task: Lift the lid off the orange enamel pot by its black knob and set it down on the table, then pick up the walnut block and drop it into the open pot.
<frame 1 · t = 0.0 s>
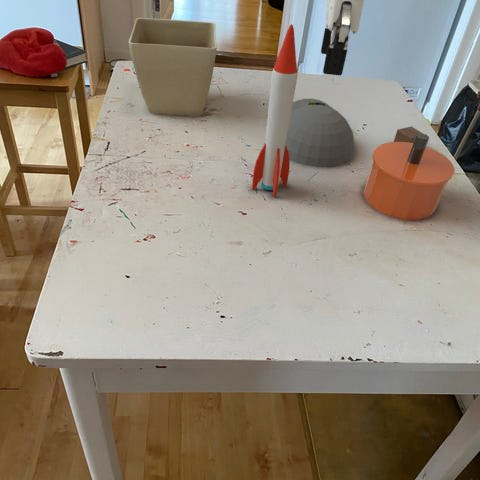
hand: (330, 63, 83), 23 cm above the table, tool pointing down, fingers open, 9 cm apart
lid: (412, 163, 91), point 8 cm above the table, touching pot
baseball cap: (311, 142, 112), on the table
flower pot: (176, 106, 120), on the table
toy rocket: (268, 191, 97), on the table
pot: (398, 201, 97), on the table
block: (404, 150, 113), on the table
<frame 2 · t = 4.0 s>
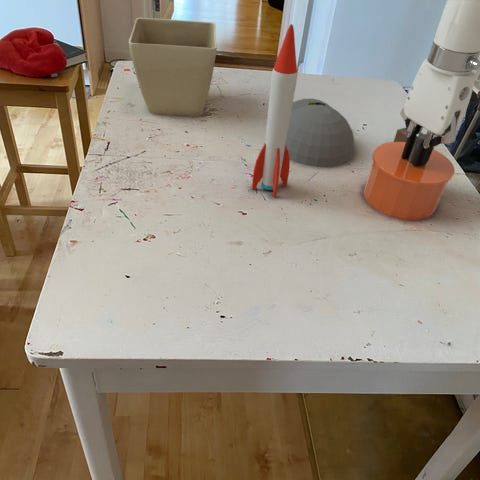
hand: (413, 160, 91), 9 cm above the table, tool pointing down, fingers closed on lid, 2 cm apart
lid: (412, 163, 91), point 9 cm above the table, touching gripper, pot
everything else where it was.
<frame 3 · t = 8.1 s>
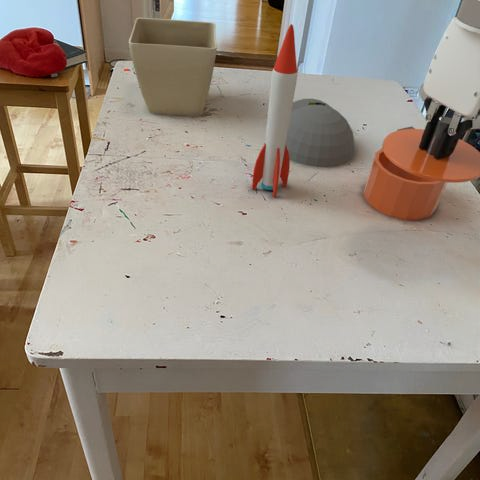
hand: (434, 151, 72), 19 cm above the table, tool pointing down, fingers closed on lid, 2 cm apart
lid: (432, 155, 73), point 19 cm above the table, touching gripper
everything else where it was.
when the fingers open (1 cm above the table, at t = 12.1 s): lid stays where it is, point 1 cm above the table.
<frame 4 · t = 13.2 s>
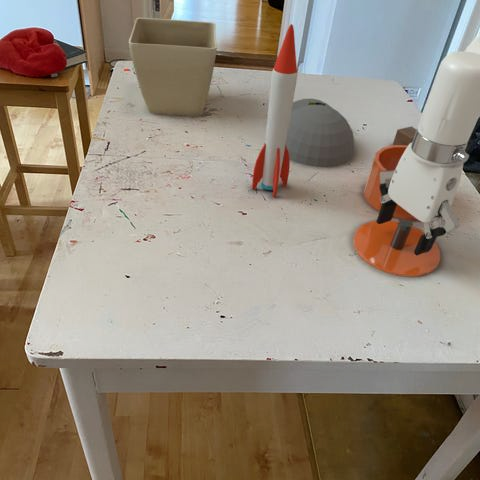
hand: (401, 236, 84), 3 cm above the table, tool pointing down, fingers open, 9 cm apart
lid: (396, 247, 86), point 1 cm above the table
everything else where it was.
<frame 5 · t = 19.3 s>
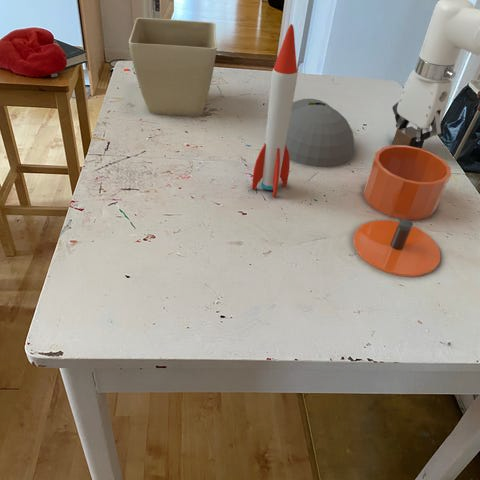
hand: (405, 149, 113), 0 cm above the table, tool pointing down, fingers closed on block, 4 cm apart
block: (404, 150, 113), on the table, touching gripper
everything else where it was.
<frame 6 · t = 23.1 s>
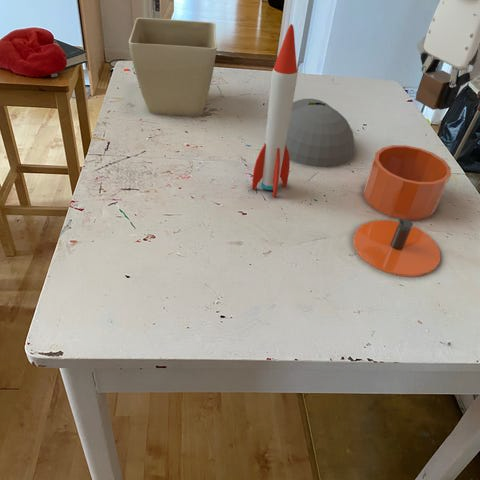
hand: (433, 100, 86), 19 cm above the table, tool pointing down, fingers closed on block, 4 cm apart
block: (432, 102, 86), point 19 cm above the table, touching gripper
everything else where it was.
when the fingers open (4 cm above the table, at t = 27.3 s): block drops 3 cm, resting on pot.
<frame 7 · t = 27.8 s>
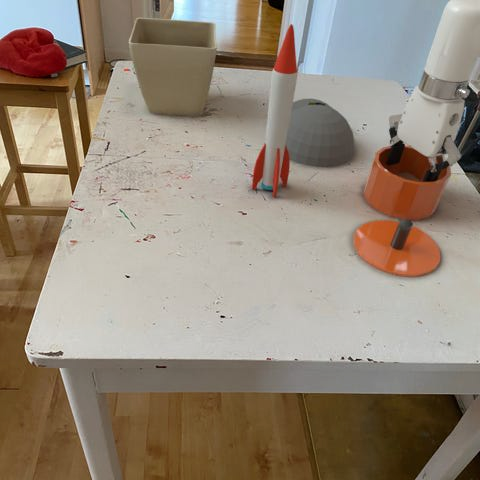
hand: (408, 175, 93), 6 cm above the table, tool pointing down, fingers open, 9 cm apart
block: (399, 199, 97), resting on pot
everything else where it was.
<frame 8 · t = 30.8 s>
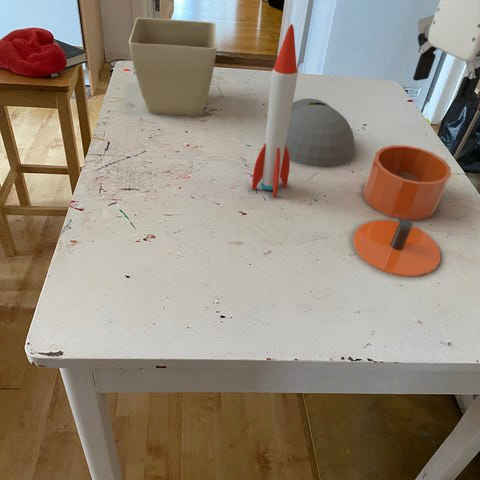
hand: (440, 89, 81), 22 cm above the table, tool pointing down, fingers open, 9 cm apart
nothing on the table moved.
at the end: block inside the target area in the pot (0.0 cm from its centre), point 0.5 cm above the pot's base; lid point 0.6 cm above the table; lid inside the target area (0.1 cm from its centre), point 0.6 cm above the table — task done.
